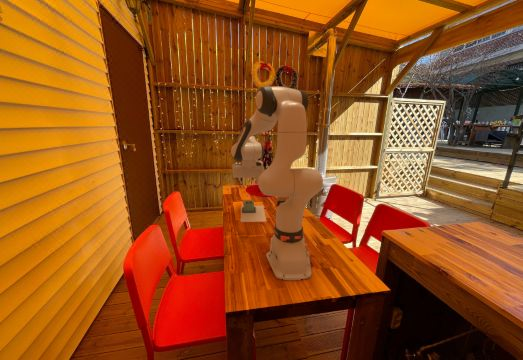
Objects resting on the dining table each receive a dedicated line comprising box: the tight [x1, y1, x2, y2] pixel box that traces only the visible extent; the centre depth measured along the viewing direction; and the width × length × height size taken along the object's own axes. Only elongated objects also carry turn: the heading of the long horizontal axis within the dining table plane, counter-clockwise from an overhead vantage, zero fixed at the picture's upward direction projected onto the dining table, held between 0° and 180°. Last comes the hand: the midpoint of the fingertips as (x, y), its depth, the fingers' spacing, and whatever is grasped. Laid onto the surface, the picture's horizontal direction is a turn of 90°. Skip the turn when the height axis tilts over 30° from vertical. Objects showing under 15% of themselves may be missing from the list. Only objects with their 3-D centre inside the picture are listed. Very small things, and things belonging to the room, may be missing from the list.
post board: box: [240, 200, 267, 223], centre depth 133 cm, size 24×15×8 cm, turn 4°
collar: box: [243, 200, 255, 212], centre depth 137 cm, size 6×6×5 cm
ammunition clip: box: [276, 196, 290, 207], centre depth 145 cm, size 11×2×12 cm, turn 99°
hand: (248, 184), depth 133 cm, fingers open, 8 cm apart
